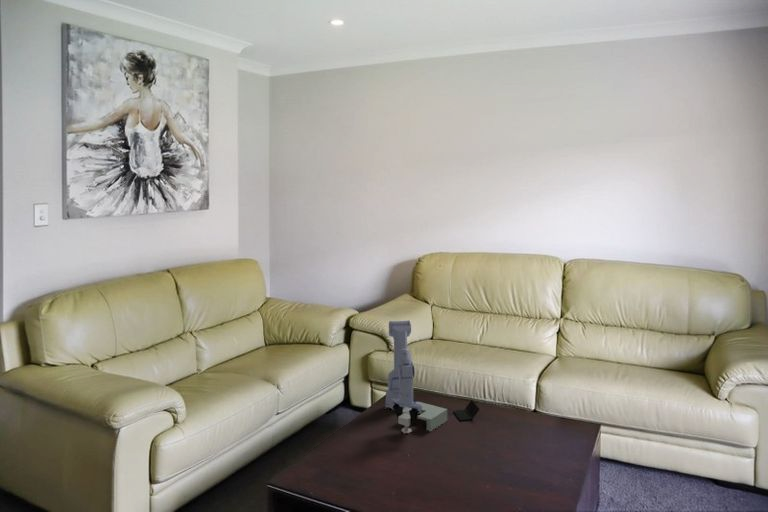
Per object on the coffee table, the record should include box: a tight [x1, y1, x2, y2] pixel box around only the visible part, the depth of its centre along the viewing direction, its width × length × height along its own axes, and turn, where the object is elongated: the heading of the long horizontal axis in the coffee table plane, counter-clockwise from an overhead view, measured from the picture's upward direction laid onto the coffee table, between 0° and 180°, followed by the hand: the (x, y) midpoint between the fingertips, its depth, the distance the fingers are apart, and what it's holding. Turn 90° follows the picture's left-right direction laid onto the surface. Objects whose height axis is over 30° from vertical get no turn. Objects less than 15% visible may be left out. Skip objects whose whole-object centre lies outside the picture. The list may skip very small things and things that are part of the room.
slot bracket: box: [402, 401, 448, 432], centre depth 256 cm, size 16×14×6 cm
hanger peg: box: [397, 413, 413, 433], centre depth 246 cm, size 5×5×7 cm
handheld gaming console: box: [452, 400, 480, 422], centre depth 263 cm, size 12×7×10 cm
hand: (406, 423), depth 246 cm, fingers open, 6 cm apart
